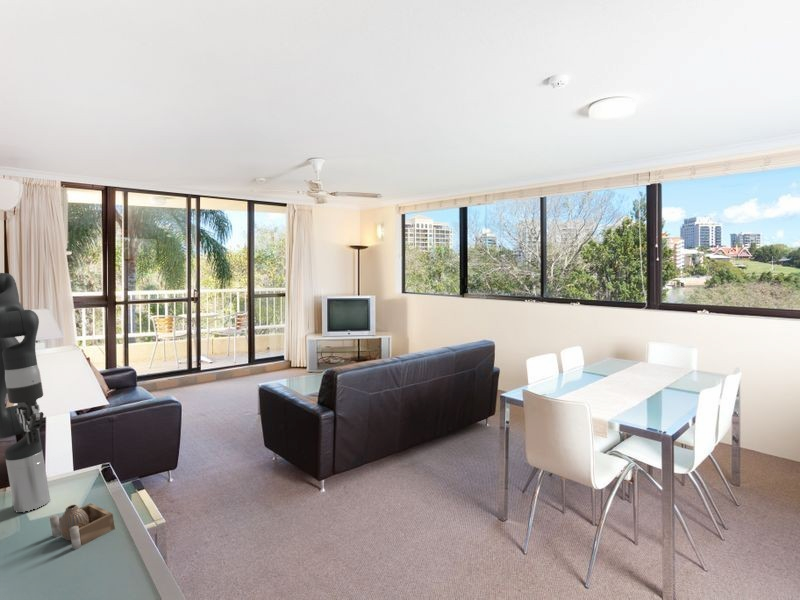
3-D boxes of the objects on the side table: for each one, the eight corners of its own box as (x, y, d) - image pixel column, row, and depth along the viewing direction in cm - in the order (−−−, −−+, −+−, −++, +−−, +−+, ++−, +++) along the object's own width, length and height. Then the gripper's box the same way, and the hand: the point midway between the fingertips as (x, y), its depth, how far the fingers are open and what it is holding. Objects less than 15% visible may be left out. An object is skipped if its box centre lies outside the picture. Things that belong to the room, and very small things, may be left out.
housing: (51, 536, 132) (48, 517, 131) (91, 517, 141) (89, 499, 140) (74, 550, 124) (71, 530, 124) (115, 529, 133) (113, 510, 132)
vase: (79, 543, 128) (75, 512, 127) (54, 544, 127) (49, 514, 127) (96, 528, 134) (91, 499, 133) (72, 529, 134) (67, 501, 133)
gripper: (50, 381, 128) (59, 442, 130) (30, 377, 135) (39, 435, 137) (16, 389, 122) (27, 452, 123) (-3, 384, 129) (7, 444, 131)
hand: (33, 443), depth 130 cm, fingers closed
